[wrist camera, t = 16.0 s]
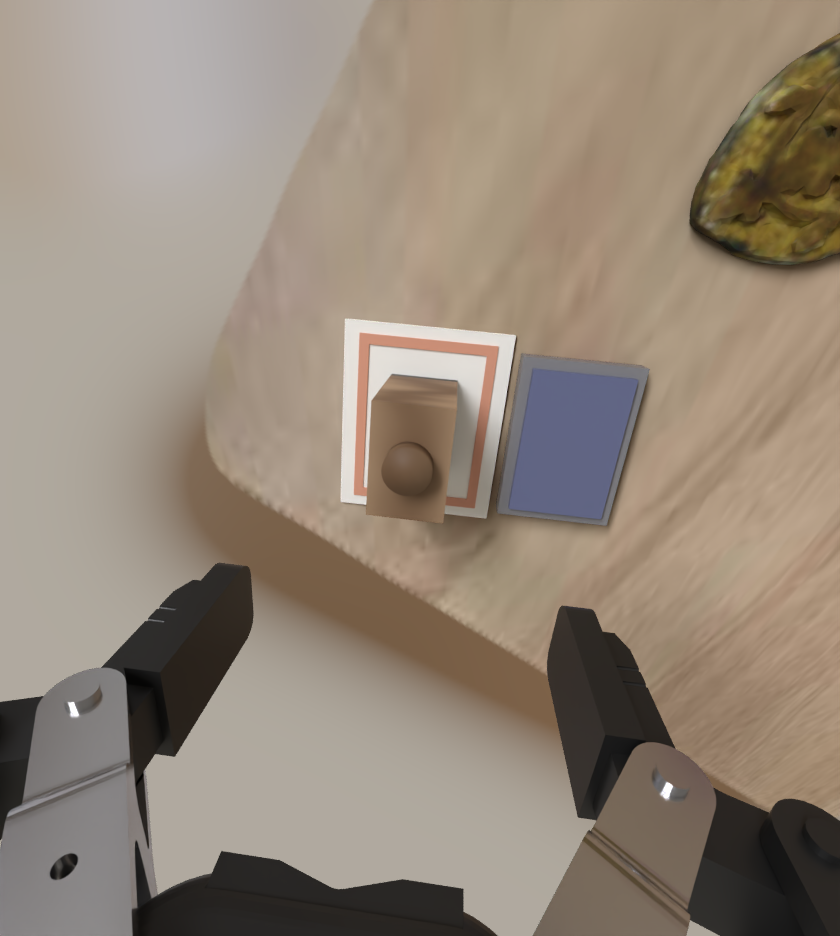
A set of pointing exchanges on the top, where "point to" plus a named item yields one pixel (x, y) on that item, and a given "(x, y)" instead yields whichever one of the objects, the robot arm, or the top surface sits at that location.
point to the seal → (779, 168)
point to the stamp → (411, 447)
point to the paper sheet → (435, 356)
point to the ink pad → (568, 437)
